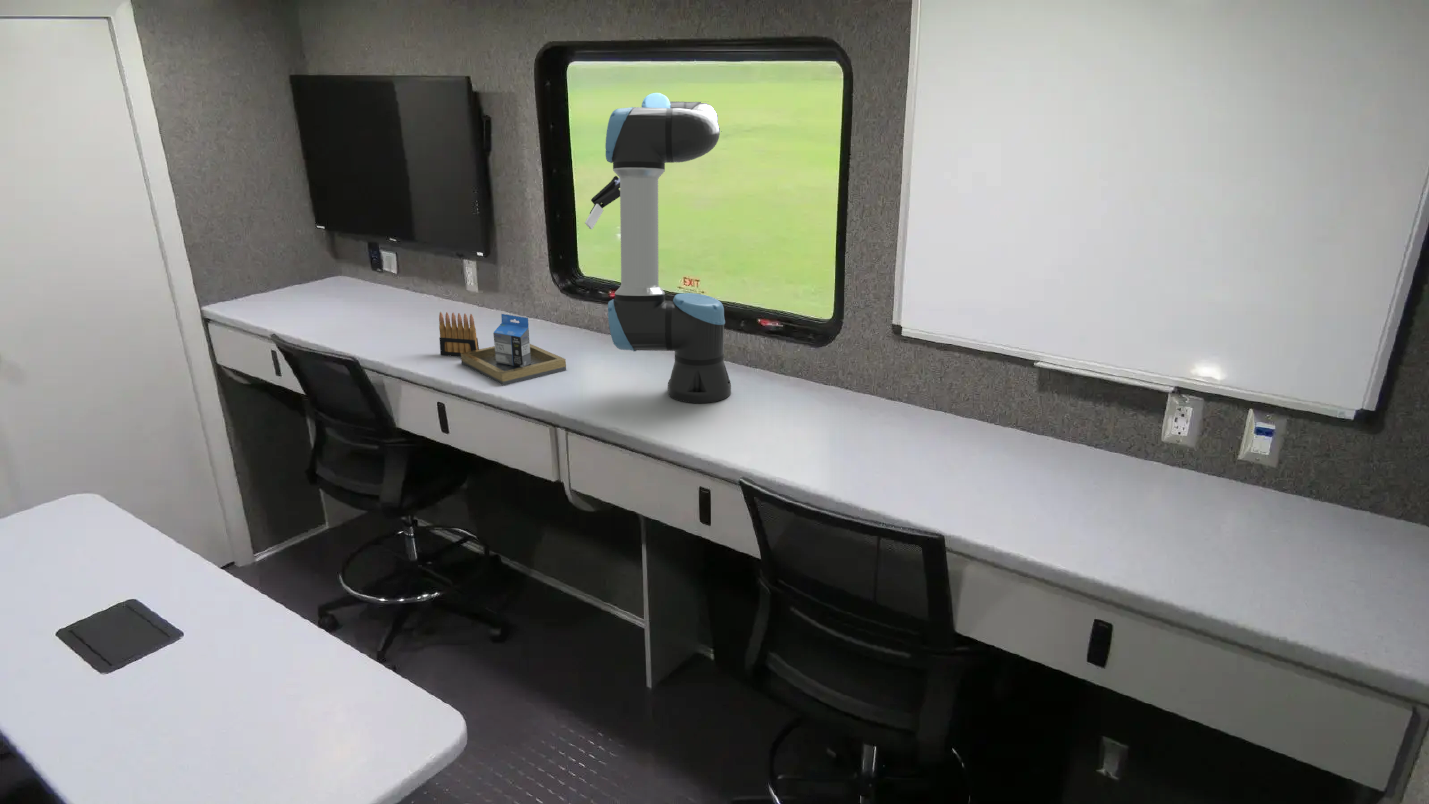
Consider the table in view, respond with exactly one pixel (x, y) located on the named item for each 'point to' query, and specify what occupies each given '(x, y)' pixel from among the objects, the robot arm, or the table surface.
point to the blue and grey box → (512, 341)
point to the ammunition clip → (457, 335)
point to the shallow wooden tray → (509, 374)
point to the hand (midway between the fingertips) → (606, 228)
